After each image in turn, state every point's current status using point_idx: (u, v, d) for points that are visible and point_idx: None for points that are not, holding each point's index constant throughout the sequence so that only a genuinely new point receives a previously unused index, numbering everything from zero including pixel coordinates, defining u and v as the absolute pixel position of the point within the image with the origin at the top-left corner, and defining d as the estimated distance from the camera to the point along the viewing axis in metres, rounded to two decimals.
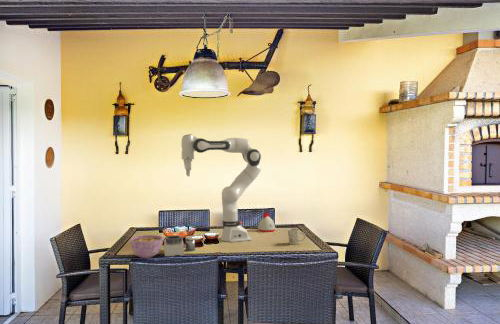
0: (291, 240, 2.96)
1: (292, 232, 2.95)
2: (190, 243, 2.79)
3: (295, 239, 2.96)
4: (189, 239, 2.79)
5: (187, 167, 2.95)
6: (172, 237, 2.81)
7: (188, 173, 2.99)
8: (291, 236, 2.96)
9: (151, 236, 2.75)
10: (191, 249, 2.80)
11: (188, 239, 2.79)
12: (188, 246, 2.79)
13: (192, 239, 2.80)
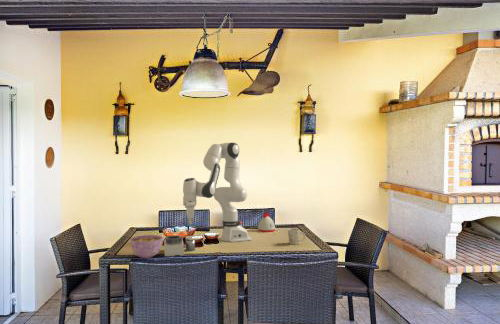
0: (291, 240, 2.96)
1: (292, 232, 2.95)
2: (190, 243, 2.79)
3: (295, 239, 2.96)
4: (189, 239, 2.79)
5: None
6: (172, 237, 2.81)
7: None
8: (291, 236, 2.96)
9: (151, 236, 2.75)
10: (191, 249, 2.80)
11: (188, 239, 2.79)
12: (188, 246, 2.79)
13: (192, 239, 2.80)
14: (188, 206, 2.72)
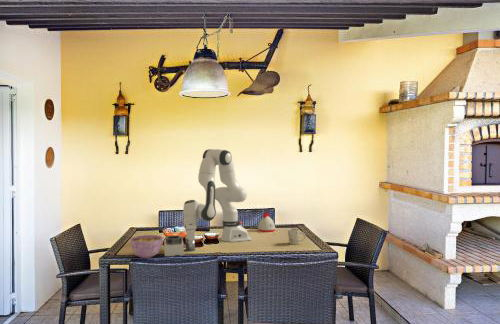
0: (291, 240, 2.96)
1: (292, 232, 2.95)
2: None
3: (295, 239, 2.96)
4: None
5: None
6: (172, 237, 2.81)
7: None
8: (291, 236, 2.96)
9: (151, 236, 2.75)
10: (191, 249, 2.80)
11: None
12: (188, 246, 2.79)
13: None
14: (188, 229, 2.73)
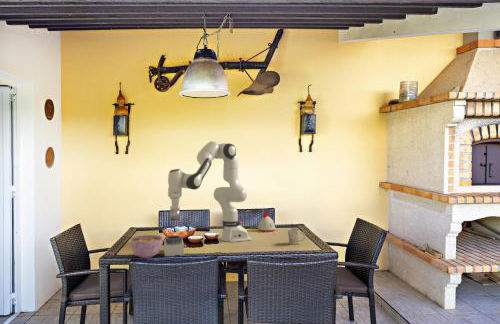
0: (291, 240, 2.96)
1: (292, 232, 2.95)
2: None
3: (295, 239, 2.96)
4: None
5: None
6: (172, 237, 2.81)
7: None
8: (291, 236, 2.96)
9: (151, 236, 2.75)
10: (175, 218, 2.75)
11: None
12: (172, 215, 2.74)
13: None
14: (173, 197, 2.68)
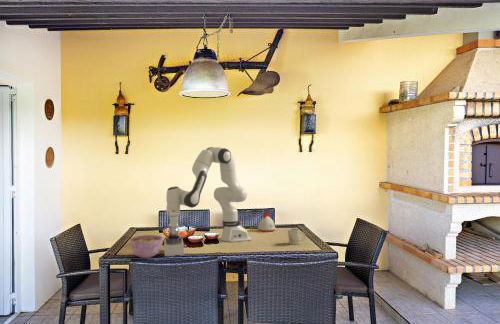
0: (291, 240, 2.96)
1: (292, 232, 2.95)
2: None
3: (295, 239, 2.96)
4: None
5: None
6: None
7: None
8: (291, 236, 2.96)
9: (151, 236, 2.75)
10: (174, 236, 2.75)
11: None
12: (171, 233, 2.75)
13: None
14: (171, 215, 2.68)
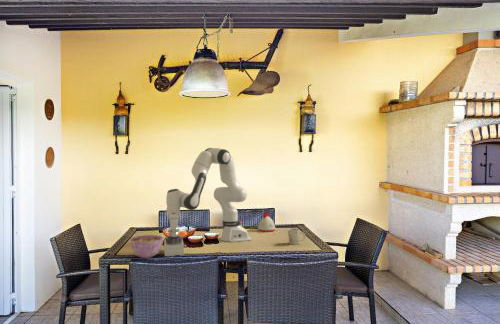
0: (291, 240, 2.96)
1: (292, 232, 2.95)
2: None
3: (295, 239, 2.96)
4: None
5: None
6: None
7: None
8: (291, 236, 2.96)
9: (151, 236, 2.75)
10: None
11: (171, 230, 2.75)
12: (171, 237, 2.75)
13: (175, 230, 2.75)
14: (171, 218, 2.69)
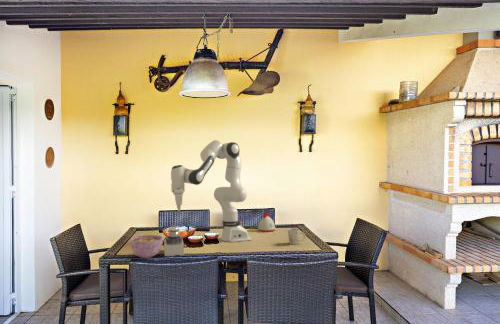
0: (291, 240, 2.96)
1: (292, 232, 2.95)
2: (173, 234, 2.75)
3: (295, 239, 2.96)
4: (172, 230, 2.74)
5: None
6: None
7: None
8: (291, 236, 2.96)
9: (151, 236, 2.75)
10: None
11: (171, 230, 2.75)
12: (171, 237, 2.75)
13: (175, 230, 2.75)
14: (176, 193, 2.76)
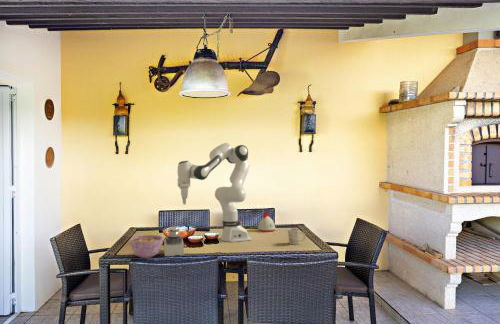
0: (291, 240, 2.96)
1: (292, 232, 2.95)
2: (173, 234, 2.75)
3: (295, 239, 2.96)
4: (172, 230, 2.75)
5: None
6: None
7: None
8: (291, 236, 2.96)
9: (151, 236, 2.75)
10: None
11: (171, 230, 2.75)
12: (171, 237, 2.75)
13: (175, 230, 2.75)
14: (182, 187, 2.88)
